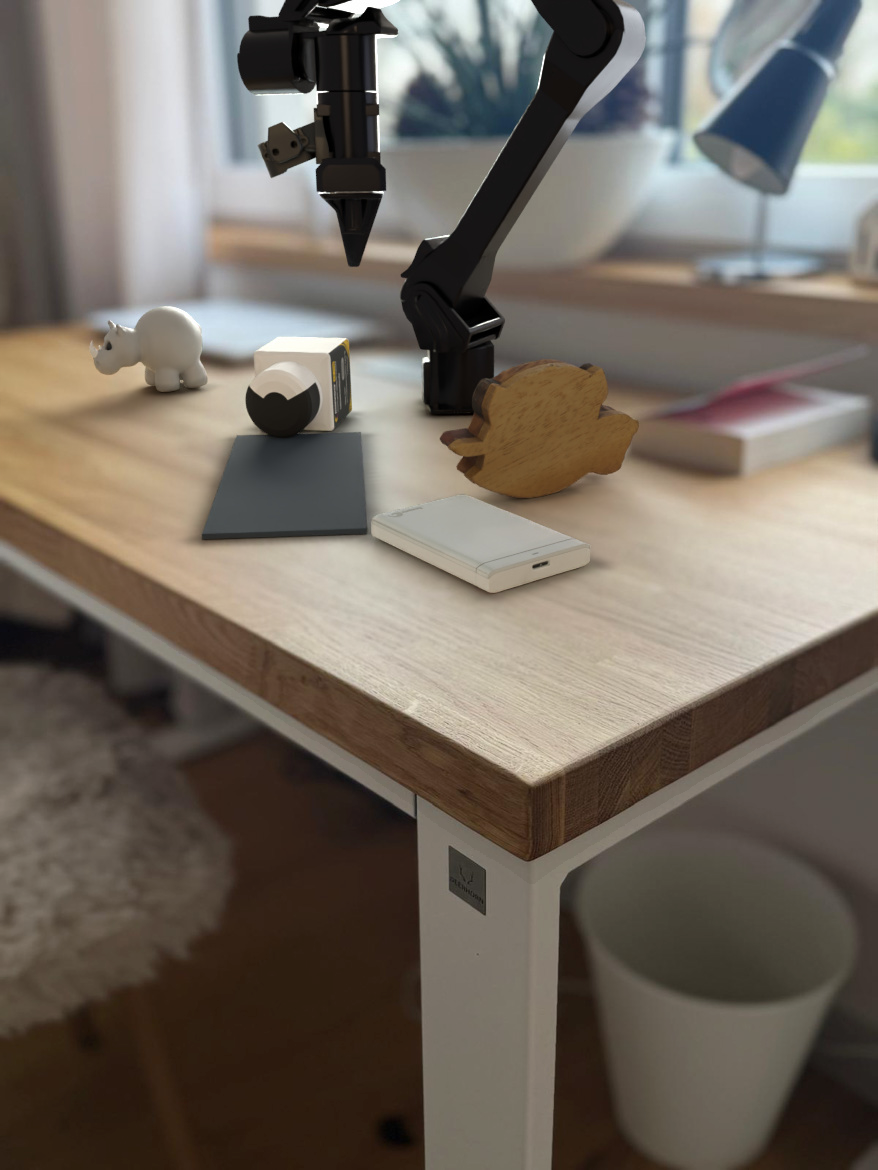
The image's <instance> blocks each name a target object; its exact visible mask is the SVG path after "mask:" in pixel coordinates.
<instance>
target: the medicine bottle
mask: <svg viewBox="0 0 878 1170" xmlns="http://www.w3.org/2000/svg"><path fill="white" fill-rule="evenodd" d="M350 354H351V353H350V340H349V339H348V338H346V337H311V336H310V337H309V336H277V337H275V338H274V339H273V340H271V341H270V342H268V343H266V344H265V345H263V346H262V347H260V348H259V349H257V350H255V351H254V352H253V355H252V356H253V366H254V377H253V379H252V380H251V381H250V382H249V384H248V386H247V388H246V391H245V398H244V400H245V409H246V412H247V414H248V416H249V419H250V420H251V421H252V423H253V424H254V425H255V426H256V427H257V429H259V430H260V431H261V432H263V434H265V435H271V436H274V437H279V438H286V437H291V436H294V435H296V434H300V433H301V432H302V431H318V432H319V431H320V432H323V431H324V432H333V431H334V430H335V428H337V427H338V426H339V425H340V423H341V422H342V421H343V420H344V419H346V417H347V416H348V415H349V414H351V412H352V411H353V400H352V399H353V398H352V396H353V395H352V378H351V358H350Z"/></svg>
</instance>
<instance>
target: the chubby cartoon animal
mask: <svg viewBox="0 0 878 1170" xmlns="http://www.w3.org/2000/svg"><path fill="white" fill-rule="evenodd" d="M107 325H108V326H109V331H108V332H107V333H106V334H105V336H104V337H103V345H100V344H99V345H98V346H97V347H98V349H97V348H96V347H95V345H94V341H93V340H90V343H89V347H88V350H89V351H88V352H89V354H90V356H91V358H92V359H93V364H94V365H93V366H94V367H95V369H96V371H98V372H99V373H100V374H101V375H106V376H112V375H115V374H116V373H118V372H120V370H121V369H122V368H130V367H134V366H136V365H137V364H139V363H141V365H142V366H144V367H145V368H144V380H145V383H146V385H148V386H152V387H155V388H156V391H158V392H163V393H171V392H175V391H178V390H179V389H180V388H181V381H182V382H183V385H184V387H186V388H188V389H195V388H200V387H203V386H206V385H207V384H208V375H207V371H206V369H205V367H204V365H203V363H202V361H201V356H202V355H201V354H202V351H203V345H204V343H203V329H202V327H201V325H200V324H199V323H198V322H197V321H196V320H195V319H194V318H193V317H192V316H191V315H190V314H189V313H188V312H186V311H184V310H182V309H180V308H178V307H176V306H175V307H174V306H169V305H167V306H164V305H162V306H158V307H154V308H152V309H149V310H148V311H146V312H145V313H144V314H142V316H140V318H138V321H137V322H136V324H135V326H134V328H130V327H128V326H121V324H118V323H117V324H115V322H113V321H112V320H110V319H109V320H108V321H107Z"/></svg>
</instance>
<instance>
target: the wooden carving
mask: <svg viewBox="0 0 878 1170" xmlns="http://www.w3.org/2000/svg"><path fill="white" fill-rule="evenodd" d="M608 395H609V385H608V381H607V378H606V372H605V370H604V369H603V368H602V367H600V366H599V365H596V364H595V365H594V364H592V363H590V362H588V363H583V364H581V365H580V366H579V367H578V366H576V365H574V364H572V363H569V362H567V361H564V360H561V359H560V360H559V359H555V358H542V359H537V360H534V361H533V360H531V361H528V362H525V363H520V364H518V365H517V366H511V367H510V368H508V369H505V370H502V371H500V372H499V373H498V374H497V375H494V377H493V378H491V379H487V378H484V379H482V380H481V381H480V382H479V383H478V385H477V387H476V389H475V391H474V393H473V397H472V408H473V410H474V413H473V415H472V417H471V421H470V423H469V425H468V426H467V427H465V428H458V429H449V430H445V431H444V432H442V434H441V435H440V436H439V441H440V442H441V443H442V444H443V445H444V446H446V447H447V449H448V450H449V451H451V452H452V453H453V454H455V455H457V456H460V457H461V458H460V460H458V463H457V464H456V470H457V471H458V472H460V473H461V474H462V475H463V476H464V477H465V478H466V479H467V480H469V481H470V482H471V483H472V484H474V485H477V486H478V487H479V488H481V489H484V490H487V491H490V492H492V493H496V494H498V495H502V496H506V497H512V498H516V499H533V498H540V497H544V496H548V495H553V494H555V493H558V492H561V491H563V490H565V489H566V488H568V487H571V486H572V485H574V484H576V482H578V481H580V480H581V479H582V478H584V477H585V476H587V475H588V474H596V475H601V476H608V475H610V474H614V473H616V472H619V470H621V469H622V466H623V462H624V460H625V459H626V458H625V457H626V453H627V451H628V449H629V448H630V446H631V443H632V441H633V438H634V436H635V434H637V433H638V431H639V428H640V423H639V422H640V421H639V420H638V419H637V418H636V417H633V416H630V415H629V414H627V413H625V412H623V411H620V410H617V409H615V408H613V407H611V406H609V405H608V404H607V405H606V404H604V402H605V401H606V400H607V398H608Z"/></svg>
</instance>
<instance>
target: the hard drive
mask: <svg viewBox="0 0 878 1170" xmlns="http://www.w3.org/2000/svg"><path fill="white" fill-rule="evenodd" d="M370 523H371V524H370V528H371V529H370V531H371V536H372V537H373V538H376V539H378V540H380V541H382V542H385V543H387V544H388V545H390V546H393V547H394V548H397V549H399V550H401V551H403V552H404V553H407V554H409V555H411V556H413V557H415V558H417V559H419V560H421V561H424V562H426V563H428V564H429V565H432V566H434V567H436V568H438V569H440V570H442V571H444V572H446V573H449V574H451V575H453V576H454V577H457V578H459V579H461V580H462V581H464V582H467V583H469V584H471V585H473V586H475V587H477V588H479V589H481V590H483V591H484V592H485V591H486V592H487V593H491V594H494V593H495V594H496V593H500V592H502V591H506V590H509V589H512V588H516V587H519V586H523V585H525V584H529V583H532V582H535V581H538V580H542V579H545V578H548V577H552V576H555V575H559V574H562V573H565V572H568V571H572V570H575V569H580V568H582V567H585V566H587V564H589V563H590V562H591V544H590V543H586V542H585V541H582V540H579V539H577V538H575V537H573V536H569V535H567V534H565V533H562V532H559V531H557V530H555V529H553V528H550V527H547V526H545V525H544V524H543V525H542V524H540V523H537V522H535V521H533V520H530V519H528V518H526V517H523V516H522V515H521V516H520V515H519V514H516V513H513V512H510V511H507V510H505V509H502V508H500V507H498V506H495V505H493V504H491V503H488V502H486V501H483V500H481V499H478V498H476V497H473V496H470V495H468V494H464V493H463V494H458V495H453V496H449V497H445V498H441V499H437V500H432V501H428V502H425V503H424V502H423V503H421V504H416V505H412V506H409V507H404V508H401V509H400V508H399V509H396V510H391V511H388V512H383V513H379V514H377V515H375V516H373V517H372V518H371V522H370Z"/></svg>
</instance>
